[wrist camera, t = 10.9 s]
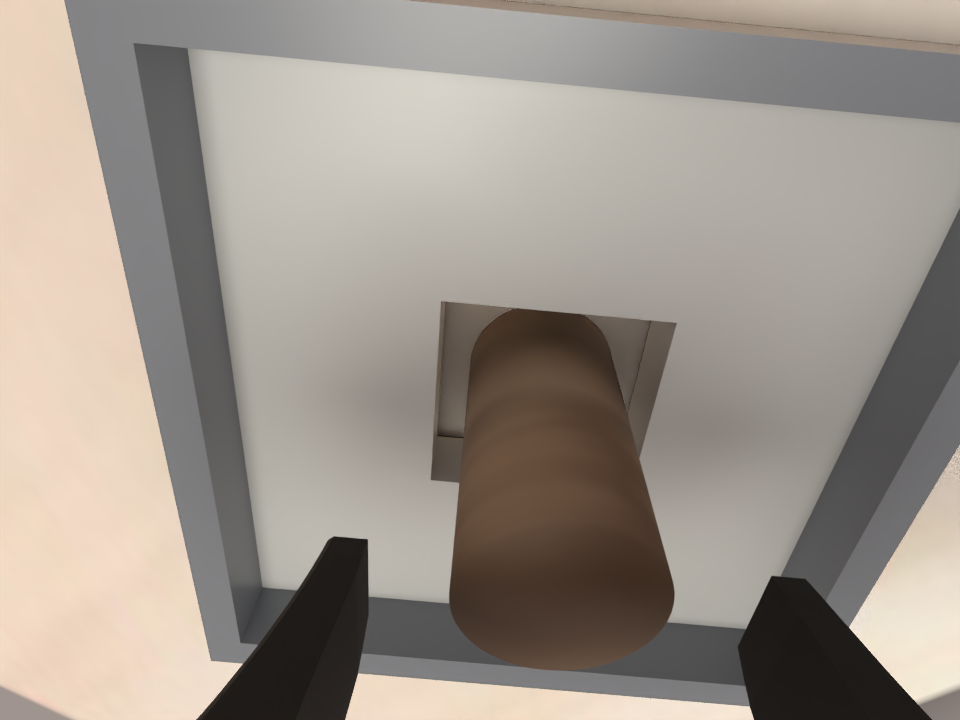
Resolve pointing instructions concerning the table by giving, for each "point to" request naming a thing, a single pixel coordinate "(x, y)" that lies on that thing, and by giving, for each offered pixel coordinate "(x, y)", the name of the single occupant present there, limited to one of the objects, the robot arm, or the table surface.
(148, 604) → the table surface
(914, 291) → the open box
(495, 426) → the walnut peg
